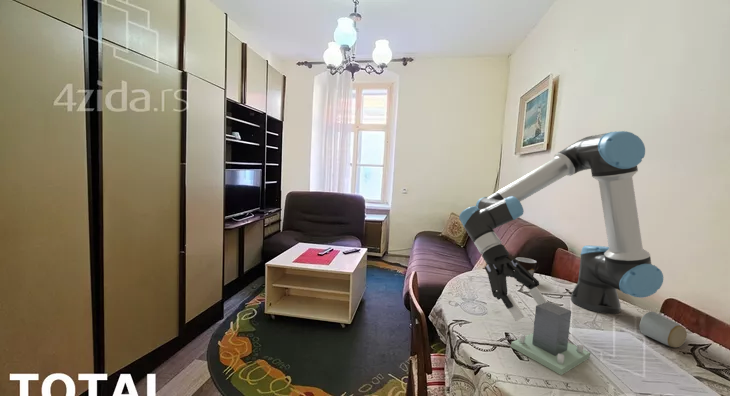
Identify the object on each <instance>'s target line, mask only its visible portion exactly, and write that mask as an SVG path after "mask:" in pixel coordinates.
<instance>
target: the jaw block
mask: <svg viewBox="0 0 730 396" xmlns="http://www.w3.org/2000/svg"><path fill="white" fill-rule="evenodd" d="M571 316H572V310H570V309H568V308H565V307H563V306H560V305H557V304H555V303H552V302H549V301H547V302H546V303H543V304H540V305H538V304H537V305H535V314H534V324H533V332H532V333H533V342H532V344H533V345H535V346H537V347H539V348H541V349H542V350H544V351H546V352H548V353H550V354H552V355H554V356H556V355H558V353H562V352H564V351H566V350H567V346H568V342H569V337H570V327H571Z"/></svg>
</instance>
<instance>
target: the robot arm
mask: <svg viewBox="0 0 730 396" xmlns="http://www.w3.org/2000/svg"><path fill="white" fill-rule="evenodd" d="M645 155H646V147H645V143H644V142H643V140H642V139H641V138H640V136H639V135H636V134H635V133H633V132H631V131H625V130H624V131H623V130H622V131H620V130H619V131H610V132H605V133H602V134H601V133H600V134H595V135H590V136H586V137H583V138H581V139H578V140H577V141H576V142H574V143H571V144H570V145H568V146H566V147H565V148H564V149H562V150H560V151H558V152H557V153H556V154H554V155H553V158H552V159H550V160H549V161H547V162H546V163H544V164H541V166H538V167H537V168H535V169H533V170H532V171H530V172H528V173H527V174H524V175H523V176H521V177H519V178H518V179H517V180H515V181H513V182H511V183H510V184H507V185H506V186H504V187H502V188H501V189H499V190H498V191H495V193H492V194H490V195H489V196H484V197H480V198H479V199H477V200H476V203H475V205H472V206H468V207H467V208H465V209H463V210H462V211H461V212H460V214H459V215H458V216H459V221H460V223H461V224H462V226H463V228H464V229H465V231H466V233H467V234H468V236H469V237H470V240H471V241H472V242H473V244H474V246H475V247H476V248H477V250H478V252H479V254H480V255H481V257H482V258H483V260H484V261H485V263H486V266H484V270H485V272H486V273H487V277H488V282H489V286H490V290H491V292H492V296H493V297H494V298H496V299H497V300H501V301H502V302H503V304H504V306H505V307H506V309H507V310H508V311H509V313H510V314H511V316H512V318H513V320H514V321H515V322H518V321H519V320H521V319H523V318H525V315H524V314H523V312H522V310H521V309H520V308H519V306H518V304H517V303H516V301H515V300H514V298H513V296H512V295H511V294H510V293H509V294H508V285H507V284H508V283H507V277H510V278H514V279H515V280H516V281H517V280H518V281H519V282H518V281H517V282H518V283H520V284H521V285H523V286H525V287H526V288H527V289H529V290H528V292H529V294H530V295H531V297H532V298H533V300H534V301H535V303H536V304H537V305H540V304H543V303H546V302H548V301H547V299H546V298H545V296H544V295H543V293H542V292H541V291H540V289H539V288H538V287H539V286H540V281H539V280H538V279H537V278H536V277H534V275H533V276H532V275H531V274H530V273H529V272H528V271H527V270H526V269H525V268H524V267H523V266H522V265H520V263H519V262H518V261H517V260H516V258H514V259H512V260H510V259H509V256H510V253H509V251H508V249H507V248H506V247H505V245H504V244H502V243H503V242H502V240H501V239H500V238H499V236H498V235H497V234H496V232H495V231H494V230H495V229H497V228H499V227H501V226H504V225H505V224H507V223H510V222H512V221H515V220H517V219H519V218H520V217H521V216H523V215H524V213H525V212H524V207H523V205H522V203H521V202H522V201H524V200H526V199H527V198H529V197H531V196H532V195H534V194H536V193H538V192H540V191H541V190H543V189H545V188H546V187H548V186H551V185H552V184H553V183H555V182H557V181H559V180H561V179H562V178H564V177H566V176H568V177H570V176H574V175H575V174H577V173H579V172H582V171H587V170H590V172H591V177H592V178H593V179H595V180H596V181H598V186H599V194H600V200H601V206H602V212H603V213H602V214H603V218H604V220H603V221H604V224H605V225H604V226H605V231H606V232H605V233H606V239H607V244H608V246H602V245H584V246H583V247H581V251H580V261H579V272H578V280H577V283H576V285H575V287H574V289H573V291H572V292H571V295H570V300H571V302H572V303H574V304H575V305H577V306H579V307H582V308H583V309H587V310H590V311H592V312H593V311H594V312H597V313H602V314H608V315H609V314H610V315H611V314H613V315H615V314H619V313H620V312H621V308H622V307H621V306H622V305H621V302H620V298H619V295H618V291H620V292H622V293H623V294H626V295H629V296H631V297H634V298H642V299H643V298H648V297H650V296H654V294H655V293H657V291H659V290H660V289H661V288H662V286H663V284H664V273H663V272H662V270H661V269H660V268H659V267H658V266H656V265H655V264H652V260H651V253H650V252H649V251H647V250H646V249H644V248H643V241H642V233H641V227H640V222H639V215H638V214H639V213H638V208H637V199H636V194H635V188H634V187H635V186H634V179H633V177H634V175H636V174H637V173H638V172H639V169H638V168H639V167H638V165H640V164H641V162H643V159H644V157H645ZM516 266H517V267H516ZM617 290H618V291H617Z"/></svg>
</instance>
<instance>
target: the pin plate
mask: <svg viewBox="0 0 730 396" xmlns="http://www.w3.org/2000/svg"><path fill="white" fill-rule="evenodd" d="M532 342H533V332H532V333H529V334H527V335H524V334H523V333H522V334H519V337H518V338H517V339H515V340H513V341H511V342H510V343H511V344H510V348H512V349H514V350H515V351H517V352H519V353H521V354H523V355H525V357H526V356H527V357H528V358H530V359H531V360H533V361H535V362H537V363H538V364H541V365H542V366H544V367H546V368H547V369H549V370H551V371H553V372H555V373H557V374H558V375H560V376H562V375H564V374H565V373H567V372H568V371H570V370H571V369H574V368H575V367H577V366H579V365H580V364H582V363H584V362H585V361H587V360H588V359H590V358H591V352H590V351H589V350H586V349H584V348H585V346H584V344H582V343H580V342H579V343H578V342H577V344H576V345H575V344H574V343H571V342H569V341H568V346H567V350H566V351H564V352H562V353H558V355H556V356H554V355H552V354H550V353H548V352H546V351H544V350H542V349H541V348H539V347H537V346H535V345H533V344H532Z"/></svg>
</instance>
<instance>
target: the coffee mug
mask: <svg viewBox="0 0 730 396" xmlns="http://www.w3.org/2000/svg"><path fill="white" fill-rule="evenodd" d="M515 259H516V260H517V261H518V262H519V263H520V265H522V266H523V267H524V268H525V269H526V270H527V271H528V272H529V273H530V274H531V275H532V276H533V277H534V275H535V273H536V272H537V271H538V270H539V269H540V263H539V262H537V260H534V259H532V258H528V257H516V258H515ZM536 266H537V268H536ZM516 267H517V266H516ZM516 281H517V282H518V283H520V282H519V281H518V280H516Z"/></svg>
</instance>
